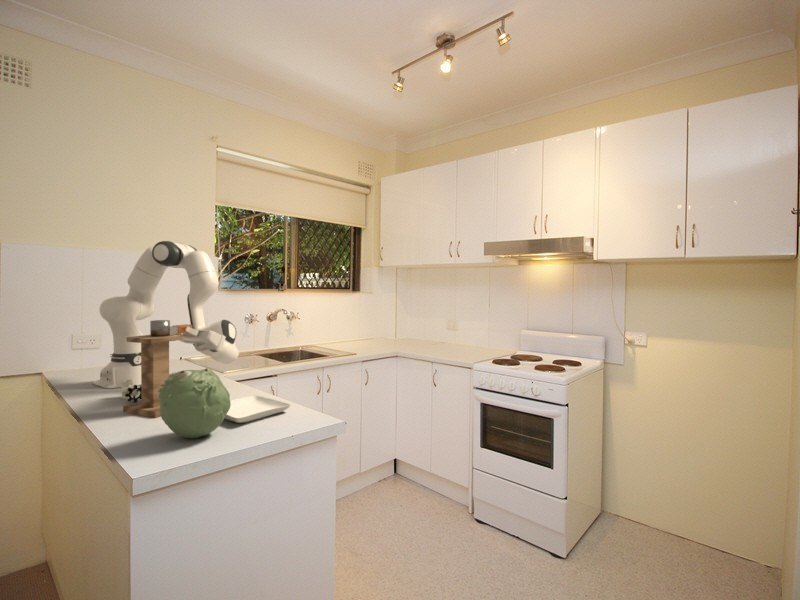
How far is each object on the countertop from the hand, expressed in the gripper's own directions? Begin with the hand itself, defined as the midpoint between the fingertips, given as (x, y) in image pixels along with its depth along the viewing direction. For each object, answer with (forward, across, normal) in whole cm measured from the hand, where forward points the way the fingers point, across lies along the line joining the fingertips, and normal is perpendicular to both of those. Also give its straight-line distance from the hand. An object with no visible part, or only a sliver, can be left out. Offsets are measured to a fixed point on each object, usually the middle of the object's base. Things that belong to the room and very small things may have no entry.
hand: (180, 327), depth 152 cm
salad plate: (-14, +32, +25) cm, 43 cm away
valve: (-10, -21, +27) cm, 36 cm away
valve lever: (+2, 0, +3) cm, 4 cm away
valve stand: (-5, 0, +30) cm, 30 cm away
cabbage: (+6, +34, +36) cm, 50 cm away
